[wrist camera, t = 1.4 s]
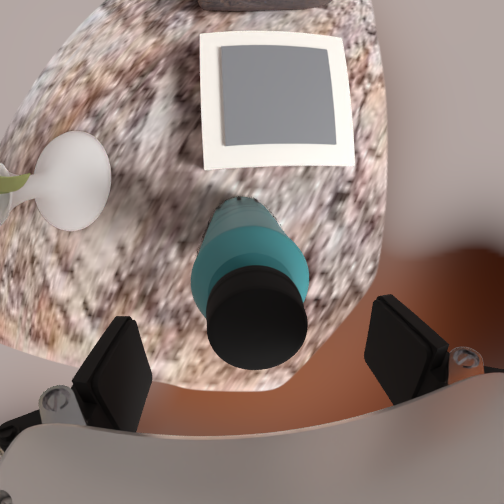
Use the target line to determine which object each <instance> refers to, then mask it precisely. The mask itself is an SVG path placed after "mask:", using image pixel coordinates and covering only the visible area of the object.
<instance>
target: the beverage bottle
mask: <svg viewBox="0 0 504 504" xmlns="http://www.w3.org/2000/svg"><path fill="white" fill-rule="evenodd" d="M228 199H229V198H228ZM228 199H227V200H225V202H224V203H223V204H221V205H220V206H218V207H217V208H216V209H217V210H216V209H215V210H216V211H215V213H214V215H213V217H212V220H211V222H210V225H209V227H208V230H207V232H204V233H206V235H205V234H203V237H202V238H204V240H203V243H202V245H201V244H200V245H201V248H199V247H198V248H199V249H200V251H199V253H198V251H197V253H198V254H197V258H196V260H195V262H194V265H193V269H192V273H191V290H192V295H193V298H194V301H195V303H196V305H197V307H198V308H199V310H200V312H201V313H202V314H203V315H204V317H205V318H206V320H207V335H208V339H209V342H210V344H211V346H212V348H213V350H214V351H215V352H216V354H217V355H218V356H219V357H220V358H221V359H222V360H224V361H225V362H227V363H228V364H230V365H232V366H235V367H238V368H242V369H247V370H262V369H268V368H272V367H275V366H277V365H280V364H282V363H284V362H285V361H287V360H288V359H290V358H291V357H292V356H294V355H295V354H296V353H297V351H298V350H299V349H300V348H301V346H302V344H303V342H304V340H305V338H306V334H307V327H308V321H307V315H306V312H305V309H304V305H303V302H304V300H305V298H306V295H307V291H308V285H309V272H308V267H307V263H306V260H305V258H304V256H303V254H302V252H301V251H300V249H299V248H298V247H297V245H296V244H295V243H294V242H293V241H292V240H291V239H290V238H288V236H287V235H286V234H285V233H284V231H283V230H282V229H281V228H280V226H279V225H278V223H277V221H276V220H277V218H275V219H276V220H275V219H274V218H273V217H274V215H273V216H272V215H271V214H270V213H269V211H268V210H269V209H268V210H267V209H266V208H265V207H264V206H263V205H262V204H261V203H260V202H258V201H257V200H256V199H254V198H253V199H252V198H248V197H237V196H236V198H235V197H234V198H231V199H229V200H228ZM266 207H267V206H266ZM213 212H214V211H213ZM270 212H271V211H270ZM210 219H211V218H210ZM208 224H209V222H208ZM280 225H281V224H280ZM204 235H205V236H204Z"/></svg>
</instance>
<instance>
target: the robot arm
mask: <svg viewBox="0 0 504 504" xmlns="http://www.w3.org/2000/svg"><path fill="white" fill-rule="evenodd" d="M448 346H449V344H448V343H447V342H446V341H445V340H444V339H442V338H441V337H440V336H439V335H438V334H437V333H436V332H435V331H434V330H432V329H431V328H430V327H429V326H428V325H427V324H426V323H425V322H423V321H422V320H421V319H420V318H419V317H418V316H417V315H415V314H414V313H413V312H412V311H411V310H410V309H408V308H407V307H406V306H405V305H404V304H402V303H401V302H400V301H399V300H397V298H395V297H394V296H393V295H391V294H390V295H383V296H378V297H377V299H376V300H375V301H374V302H373V306H372V313H371V319H370V325H369V331H368V337H367V342H366V348H365V352H364V359H365V362H366V363H367V365H368V366H369V368H370V369H371V371H372V372H373V374H374V375H375V377H376V378H377V380H378V382H379V383H380V384H381V386H382V388H383V389H384V391H385V392H386V394H387V395H388V397H389V399H390V400H391V402H392V403H393V405H394V406H391V407H388V408H385V409H382V410H379V411H375V412H372V413H368V414H365V415H361V416H357V417H354V418H350V419H345V420H341V421H337V422H332V423H328V424H323V425H318V426H312V427H307V428H301V429H294V430H287V431H280V432H271V433H262V434H250V435H235V436H174V435H158V434H146V433H136V431H137V427H138V424H139V420H140V417H141V414H142V410H143V407H144V404H145V401H146V398H147V394H148V392H149V388H150V385H151V383H152V372H151V369H150V366H149V363H148V360H147V357H146V354H145V351H144V347H143V344H142V341H141V337H140V334H139V330H138V326H137V323H136V321H135V320H132V318H131V317H130V316H116V317H115V318H114V320H113V321H112V322H111V324H110V325H109V327H108V328H107V329H106V331H105V332H104V334H103V335H102V336H101V338H100V339H99V341H98V342H97V344H96V345H95V346H94V348H93V349H92V351H91V352H90V354H89V355H88V357H87V358H86V360H85V361H84V363H83V364H82V366H81V367H80V369H79V370H78V372H77V373H76V375H75V376H74V378H73V380H72V382H73V386H72V387H71V388H69V387H67V386H64V385H57V386H53V387H51V388H49V389H47V390H46V391H45V392H43V394H42V395H41V396H40V399H39V410H36V411H34V412H31V413H28V414H26V415H23V416H21V417H18V418H15V419H13V420H10V421H7V422H5V423H3V424H2V425H1V426H0V504H504V369H498V368H492V367H486V366H484V365H483V359H482V357H481V355H480V354H479V353H478V352H476V351H475V350H473V349H471V348H467V347H458V348H455V349H453V350H452V351H451V352H450V353H449V352H447V349H448Z"/></svg>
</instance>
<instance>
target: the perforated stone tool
mask: <svg viewBox="0 0 504 504" xmlns="http://www.w3.org/2000/svg"><path fill="white" fill-rule="evenodd" d="M331 1H332V0H198V3H199V6H200V7H201V8H202V9H204V10H222V11H259V10H293V9H308V8H315V7H319V6H323V5H326V4H328V3H330V2H331Z"/></svg>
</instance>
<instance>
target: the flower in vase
mask: <svg viewBox="0 0 504 504" xmlns="http://www.w3.org/2000/svg"><path fill="white" fill-rule="evenodd" d="M110 187H111V168H110V163H109V159H108V156H107V153H106V151H105V149H104V147H103V146H102V144H101V143H100V142H99V141H98V140H97V139H96V138H95V137H94V136H93V135H91V134H89V133H87V132H84V131H69V132H66V133H63V134H61V135H59V136H58V137H56V138H54V139H53V140H52V141H51V142H50V143H49V144H48V145H47V146H46V147H45V148H44V150H43V151H42V153H41V155H40V157H39V159H38V161H37V164H36V167H35V171H34V175H30V173H28V174H24V175H17V174H13V173H11V172H9V171H8V170H7V168H6V167H5V166H4V165H3V164H2V163H0V226H1V225H2V224H3V223H4V222H5V221H6V220H7V218H8V216H9V213H10V211H11V210H12V209H13V208H14V207H16V206H17V205H19V204H20V203H23V202H25V201H27V200H31V199H35V201H36V204H37V207H38V209H39V211H40V213H41V214H42V216H43V217H44V218H45V220H46V221H47V222H48V223H50V224H51V225H52V226H54V227H56V228H58V229H62V230H65V231H77V230H81V229H84V228H86V227H87V226H89V225H90V224H92V223H93V222H94V221H95V220H96V219H97V218H98V216H99V215H100V214H101V212H102V210H103V209H104V207H105V205H106V202H107V200H108V196H109V192H110Z"/></svg>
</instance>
